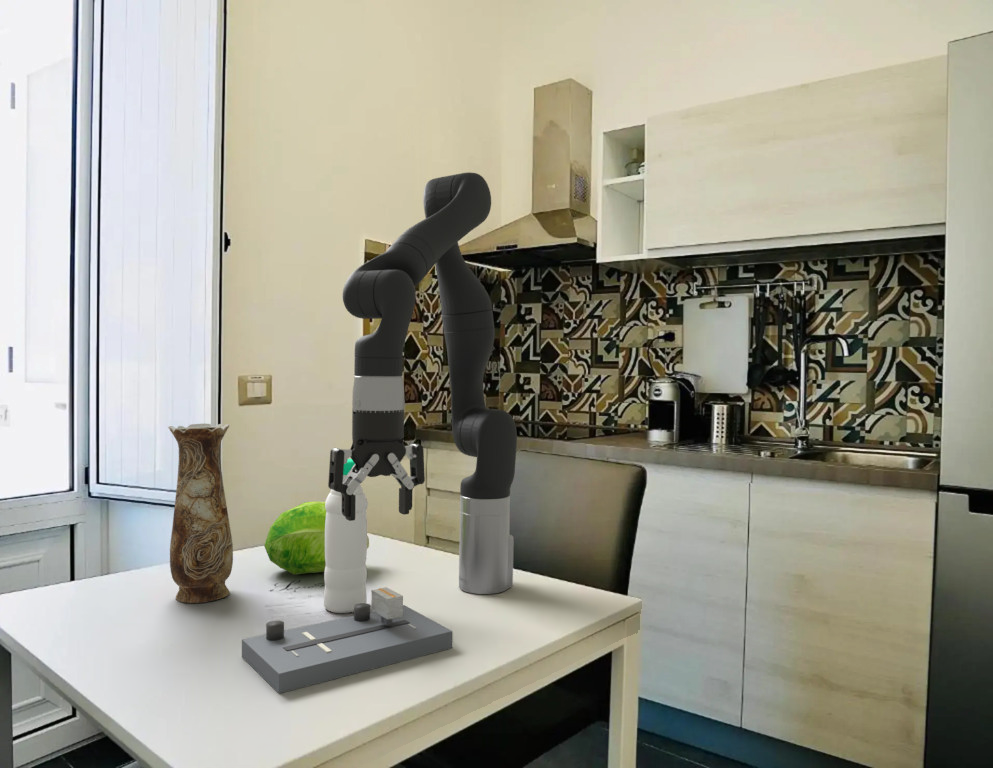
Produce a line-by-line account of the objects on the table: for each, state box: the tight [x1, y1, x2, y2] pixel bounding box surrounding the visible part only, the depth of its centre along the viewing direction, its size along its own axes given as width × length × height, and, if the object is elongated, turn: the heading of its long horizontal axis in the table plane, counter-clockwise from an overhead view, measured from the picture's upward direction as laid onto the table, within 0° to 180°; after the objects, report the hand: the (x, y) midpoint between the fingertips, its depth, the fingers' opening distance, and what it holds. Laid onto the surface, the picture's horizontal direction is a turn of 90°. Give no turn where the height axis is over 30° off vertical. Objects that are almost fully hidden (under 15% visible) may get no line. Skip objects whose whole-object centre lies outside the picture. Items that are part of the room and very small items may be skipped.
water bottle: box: [323, 458, 369, 614], centre depth 125 cm, size 7×7×25 cm
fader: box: [370, 586, 404, 626], centre depth 109 cm, size 2×5×5 cm, turn 37°
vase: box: [167, 423, 234, 604], centre depth 129 cm, size 10×11×30 cm
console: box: [241, 602, 454, 694], centre depth 106 cm, size 26×14×4 cm, turn 127°
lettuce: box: [263, 500, 370, 575], centre depth 146 cm, size 15×20×14 cm
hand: (377, 516), depth 109 cm, fingers open, 8 cm apart
